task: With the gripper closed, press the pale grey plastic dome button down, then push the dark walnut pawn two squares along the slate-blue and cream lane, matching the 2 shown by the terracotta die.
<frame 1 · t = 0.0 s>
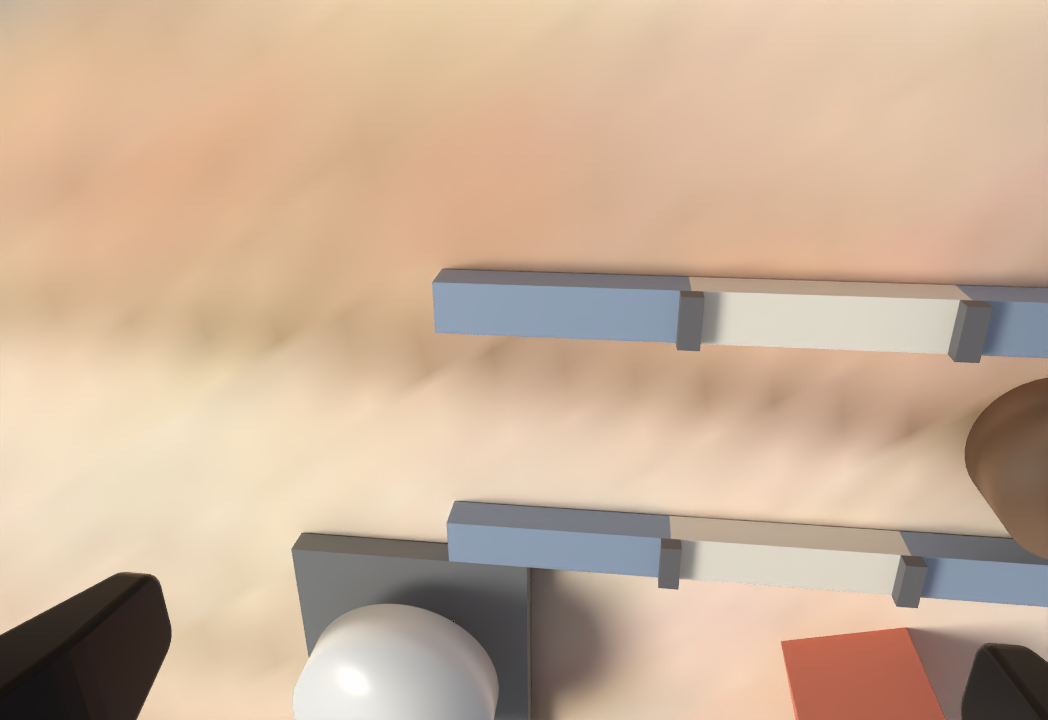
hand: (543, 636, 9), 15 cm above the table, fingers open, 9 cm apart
pawn: (1046, 444, 23), on the table
dome base: (421, 631, 29), on the table
die: (848, 677, 27), on the table
lane: (796, 433, 23), on the table
dome: (400, 693, 26), point 3 cm above the table, slide at 0.0 cm
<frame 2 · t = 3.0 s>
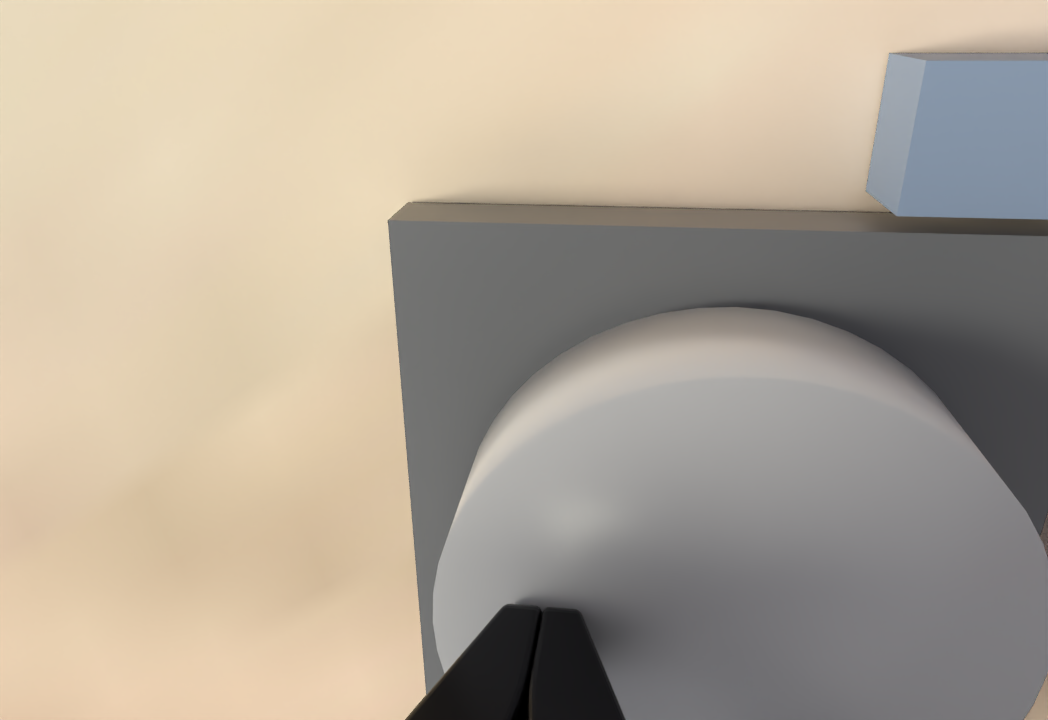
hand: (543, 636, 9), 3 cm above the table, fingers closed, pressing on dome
dome base: (703, 489, 11), on the table
dome: (715, 574, 9), point 2 cm above the table, slide at -1.0 cm, touching gripper
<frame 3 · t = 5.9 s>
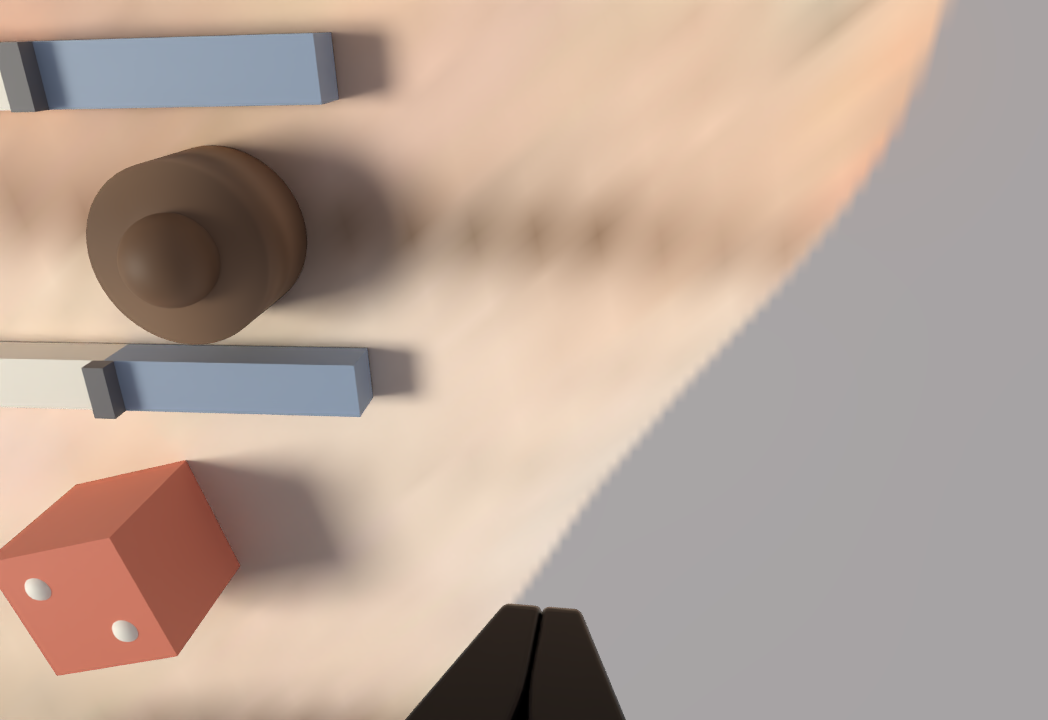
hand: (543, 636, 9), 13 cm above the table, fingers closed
pawn: (226, 230, 21), on the table
die: (160, 524, 25), on the table
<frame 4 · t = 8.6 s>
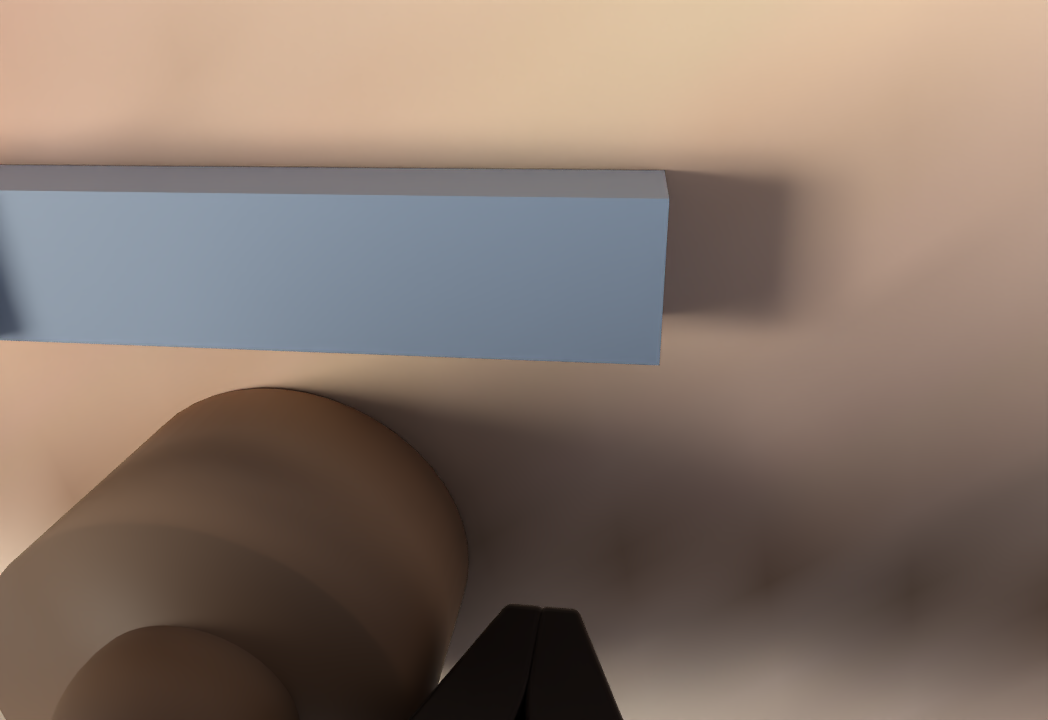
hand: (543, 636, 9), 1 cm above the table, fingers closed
pawn: (298, 543, 10), on the table, touching gripper
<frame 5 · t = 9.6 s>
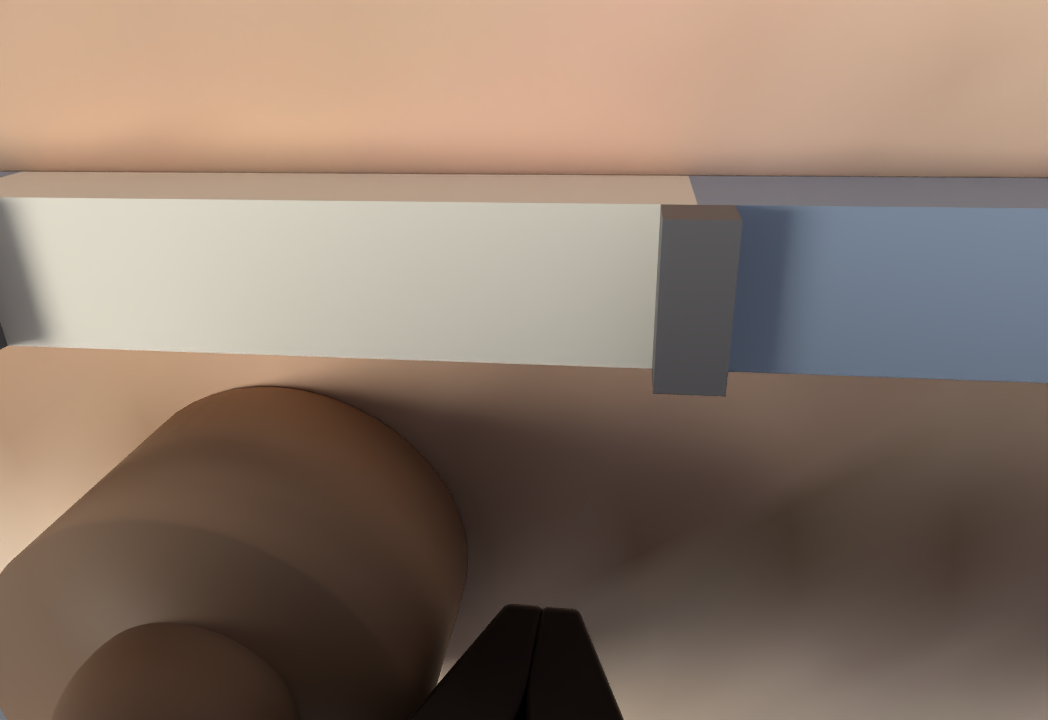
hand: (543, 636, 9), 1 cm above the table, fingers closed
pawn: (297, 541, 10), on the table, touching gripper
lane: (381, 552, 10), on the table
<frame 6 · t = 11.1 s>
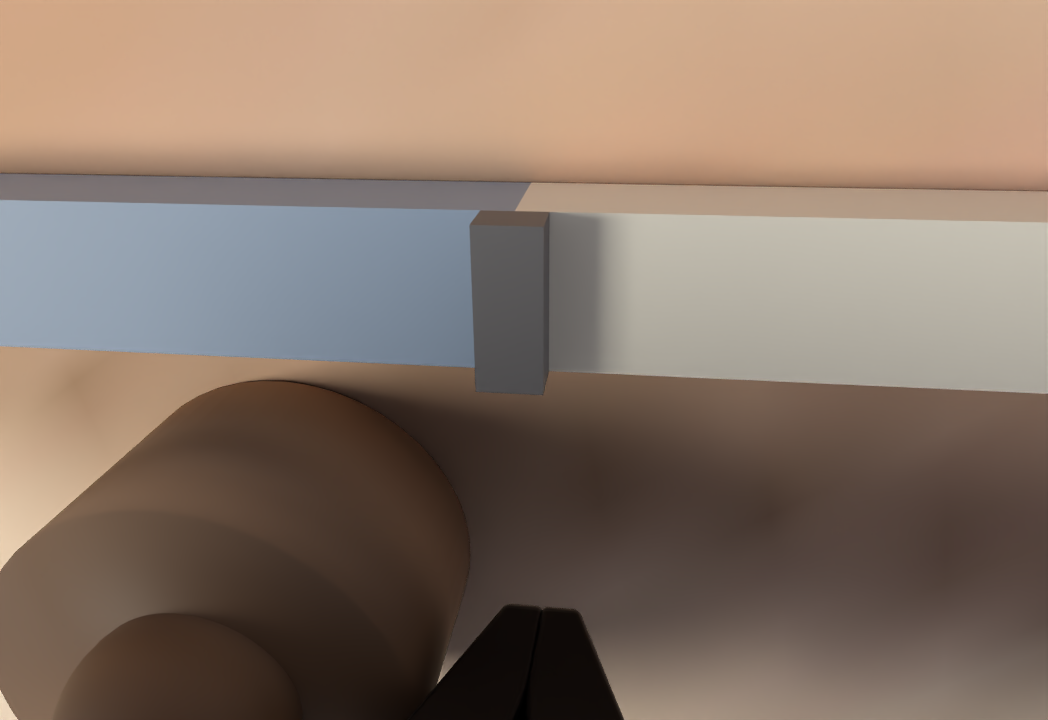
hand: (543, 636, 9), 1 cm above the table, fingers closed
pawn: (301, 535, 10), on the table, touching gripper
lane: (824, 588, 9), on the table
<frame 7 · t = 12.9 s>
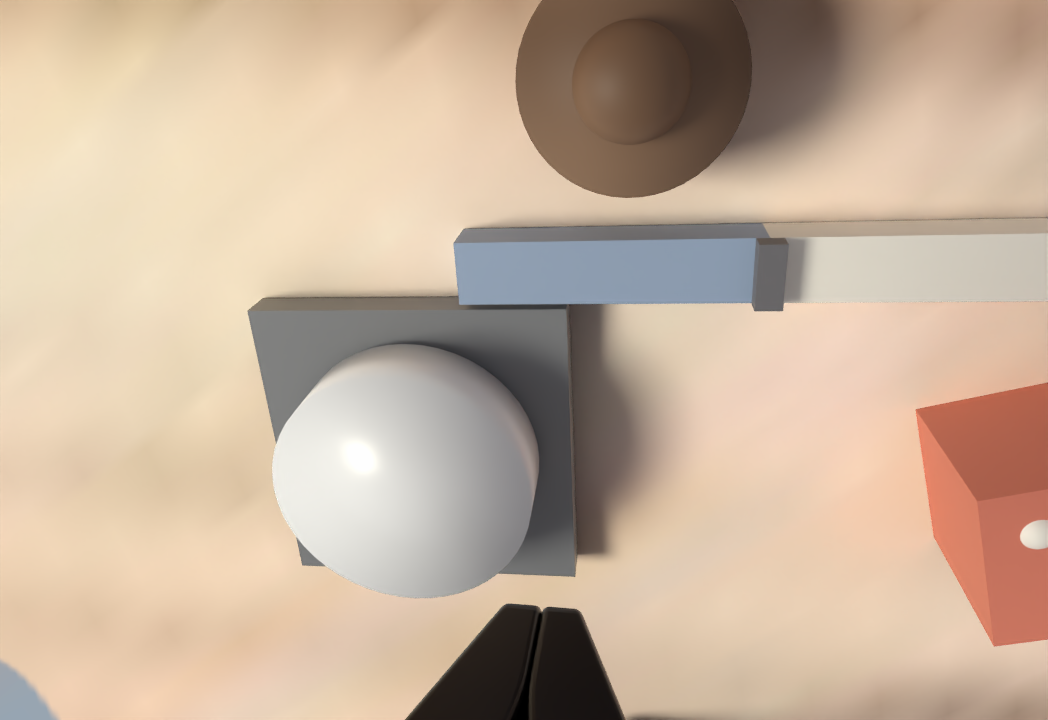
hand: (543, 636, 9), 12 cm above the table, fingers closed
pawn: (631, 69, 17), on the table
dome base: (428, 433, 22), on the table
die: (1008, 458, 20), on the table
lane: (948, 65, 16), on the table
dome: (412, 468, 20), point 2 cm above the table, slide at -1.1 cm
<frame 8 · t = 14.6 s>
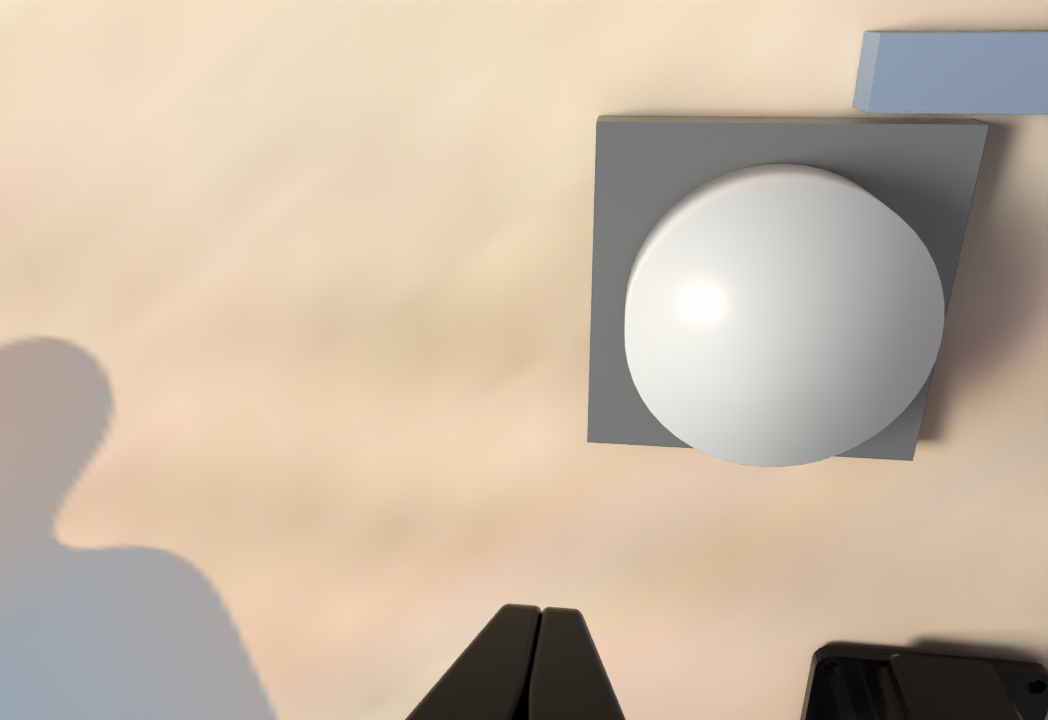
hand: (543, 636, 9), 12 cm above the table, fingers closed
dome base: (759, 289, 19), on the table
dome: (770, 315, 17), point 2 cm above the table, slide at -1.1 cm
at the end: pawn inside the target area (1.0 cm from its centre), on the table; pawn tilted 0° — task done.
